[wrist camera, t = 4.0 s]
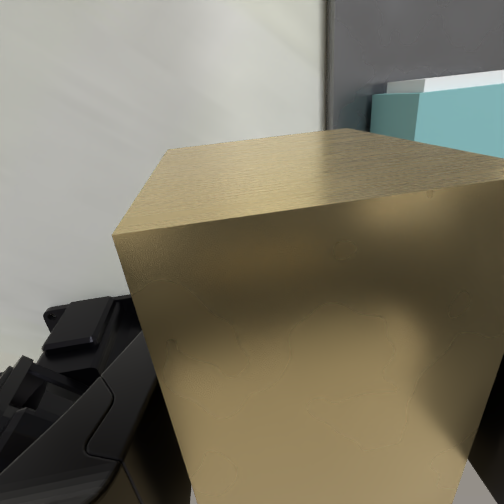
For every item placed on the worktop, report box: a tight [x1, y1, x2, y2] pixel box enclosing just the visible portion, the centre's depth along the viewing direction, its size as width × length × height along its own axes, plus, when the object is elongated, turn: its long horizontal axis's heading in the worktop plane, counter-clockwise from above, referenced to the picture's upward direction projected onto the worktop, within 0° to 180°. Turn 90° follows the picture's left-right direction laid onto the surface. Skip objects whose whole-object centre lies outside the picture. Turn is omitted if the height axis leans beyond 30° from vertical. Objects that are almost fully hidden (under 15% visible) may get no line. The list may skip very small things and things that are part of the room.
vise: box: [326, 0, 504, 132], centre depth 16 cm, size 26×12×3 cm, turn 6°
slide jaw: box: [370, 70, 504, 158], centre depth 17 cm, size 8×8×4 cm
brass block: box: [112, 128, 504, 504], centre depth 8 cm, size 8×5×6 cm, turn 6°
